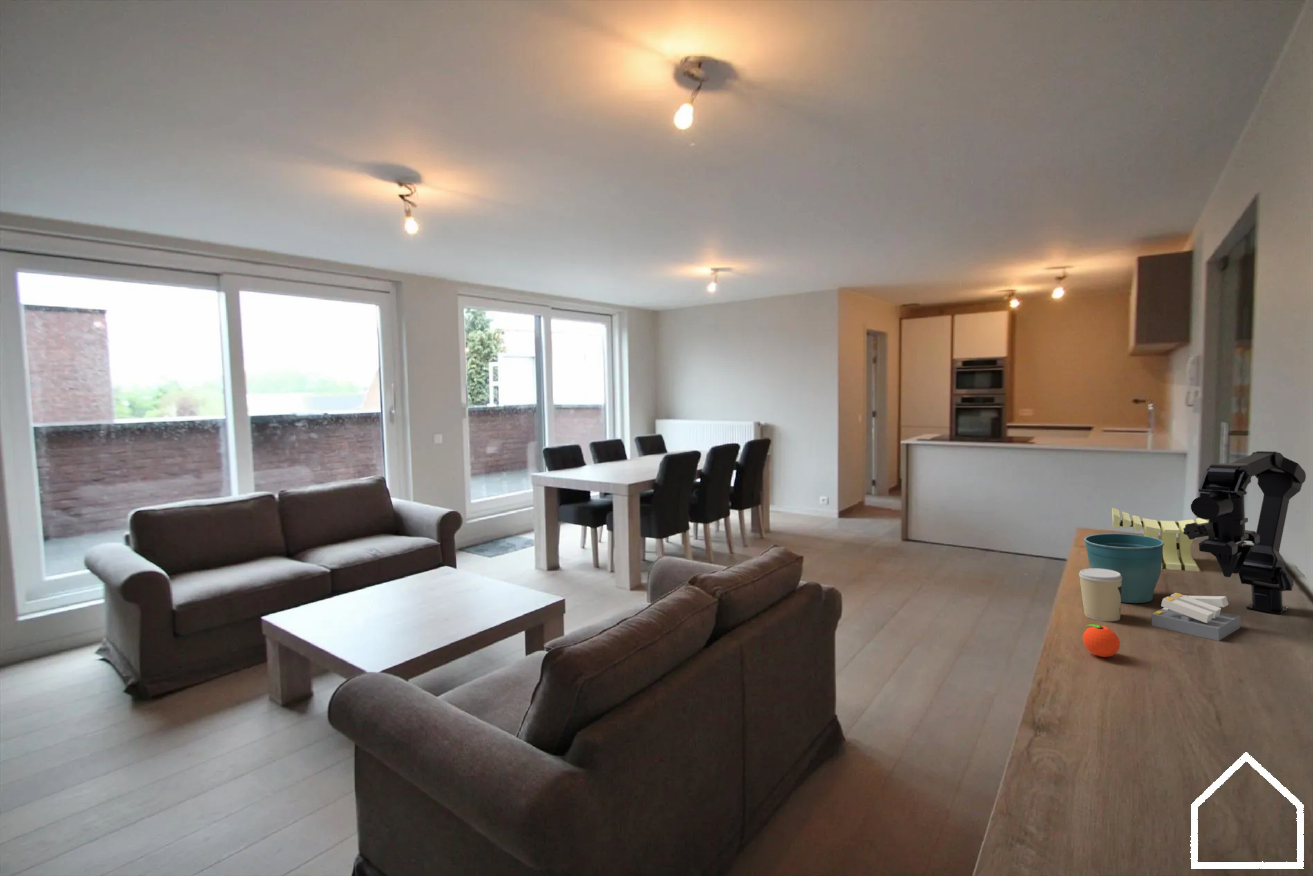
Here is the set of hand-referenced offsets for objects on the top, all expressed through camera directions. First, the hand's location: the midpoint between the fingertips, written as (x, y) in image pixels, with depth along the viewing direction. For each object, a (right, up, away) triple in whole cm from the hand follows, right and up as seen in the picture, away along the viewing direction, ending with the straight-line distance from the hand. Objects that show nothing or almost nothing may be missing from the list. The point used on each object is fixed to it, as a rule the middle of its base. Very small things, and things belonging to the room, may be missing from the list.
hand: (1230, 575), depth 149 cm
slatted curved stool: (+28, -8, +50) cm, 58 cm away
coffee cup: (-25, -14, +10) cm, 30 cm away
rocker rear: (-6, -7, +1) cm, 9 cm away
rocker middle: (-10, -7, -1) cm, 13 cm away
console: (-10, -13, -1) cm, 16 cm away
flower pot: (-9, -12, +23) cm, 27 cm away
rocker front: (-14, -8, -3) cm, 16 cm away
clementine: (-42, -16, -12) cm, 47 cm away
